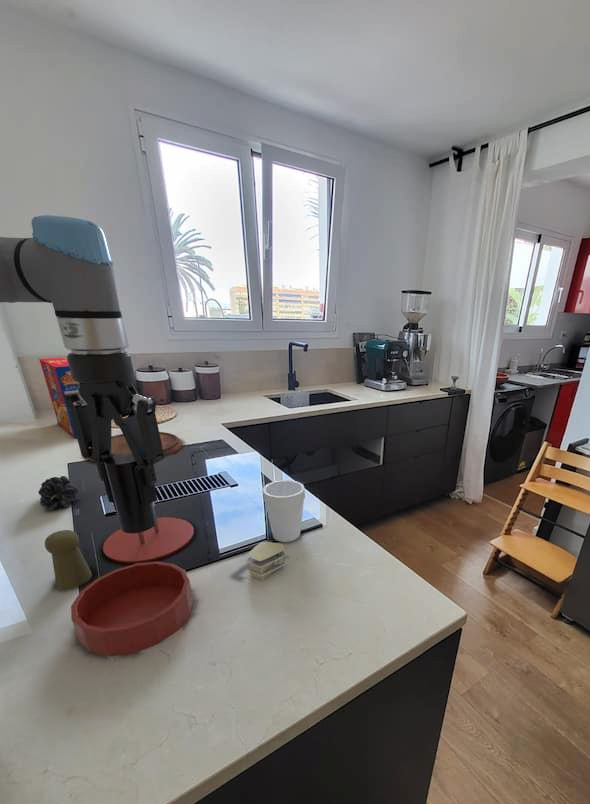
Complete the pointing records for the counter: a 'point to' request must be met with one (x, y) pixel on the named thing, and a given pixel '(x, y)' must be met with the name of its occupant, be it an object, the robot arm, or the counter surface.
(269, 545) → the beige layered block
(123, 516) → the black item
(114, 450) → the cutting board
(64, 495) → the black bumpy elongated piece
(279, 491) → the foam cup
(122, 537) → the lid
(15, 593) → the counter surface
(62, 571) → the cork
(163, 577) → the pot
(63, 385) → the red and blue box
